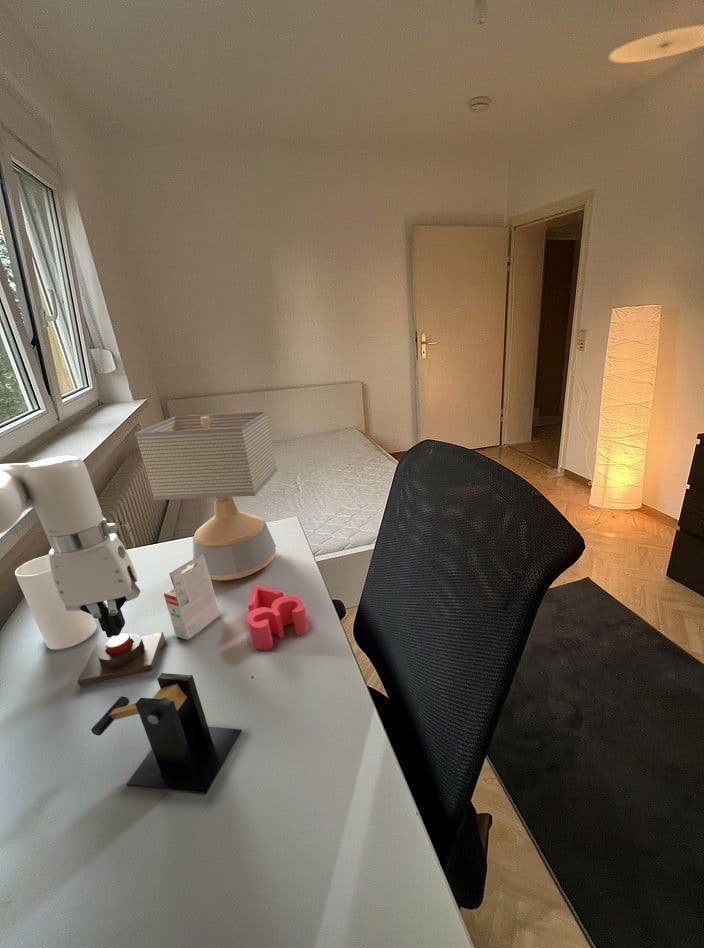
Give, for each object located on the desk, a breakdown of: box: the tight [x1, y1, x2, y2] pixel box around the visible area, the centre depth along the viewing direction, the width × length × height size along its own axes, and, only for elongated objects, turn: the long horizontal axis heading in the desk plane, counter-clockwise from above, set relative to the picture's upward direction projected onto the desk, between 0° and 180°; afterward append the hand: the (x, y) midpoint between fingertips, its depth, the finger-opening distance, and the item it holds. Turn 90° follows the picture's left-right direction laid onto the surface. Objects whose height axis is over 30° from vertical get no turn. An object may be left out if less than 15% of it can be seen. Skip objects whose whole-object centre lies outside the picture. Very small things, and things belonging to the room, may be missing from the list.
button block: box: [76, 631, 166, 688], centre depth 77 cm, size 11×9×4 cm
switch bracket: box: [126, 672, 243, 795], centre depth 57 cm, size 11×9×13 cm
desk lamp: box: [134, 411, 278, 581], centre depth 101 cm, size 22×19×37 cm
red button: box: [105, 632, 132, 655], centre depth 76 cm, size 4×4×2 cm
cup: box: [14, 554, 98, 650], centre depth 84 cm, size 8×8×16 cm
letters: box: [246, 584, 309, 651], centre depth 86 cm, size 14×10×5 cm
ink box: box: [163, 554, 221, 641], centre depth 84 cm, size 4×8×15 cm, turn 156°
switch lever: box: [90, 684, 187, 737], centre depth 57 cm, size 12×5×2 cm, turn 82°
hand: (116, 631), depth 75 cm, fingers closed
